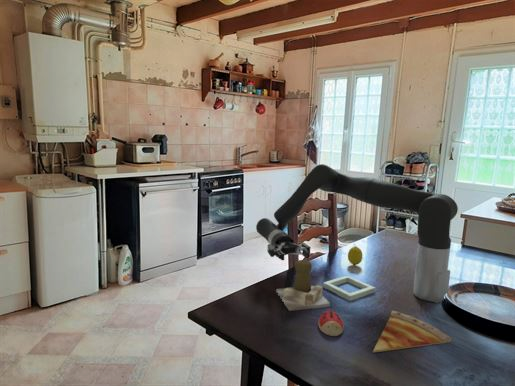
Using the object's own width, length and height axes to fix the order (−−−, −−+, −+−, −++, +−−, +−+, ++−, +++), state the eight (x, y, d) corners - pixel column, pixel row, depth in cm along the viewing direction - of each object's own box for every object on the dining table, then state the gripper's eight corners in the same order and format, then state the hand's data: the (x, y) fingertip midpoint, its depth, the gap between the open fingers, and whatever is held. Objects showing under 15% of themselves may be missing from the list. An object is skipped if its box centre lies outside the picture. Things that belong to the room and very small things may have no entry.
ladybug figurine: (320, 337, 93) (320, 324, 92) (316, 317, 103) (316, 306, 102) (346, 338, 93) (347, 325, 92) (340, 319, 102) (340, 307, 102)
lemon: (345, 266, 142) (347, 247, 140) (349, 262, 147) (350, 243, 145) (360, 269, 139) (361, 249, 138) (363, 264, 144) (364, 245, 143)
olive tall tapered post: (312, 298, 111) (314, 265, 109) (293, 298, 111) (294, 264, 110) (310, 290, 117) (311, 258, 115) (291, 289, 117) (293, 257, 116)
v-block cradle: (276, 291, 118) (276, 280, 117) (313, 288, 121) (313, 277, 121) (289, 310, 106) (289, 298, 105) (329, 306, 109) (330, 294, 108)
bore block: (374, 292, 119) (375, 287, 119) (350, 300, 113) (350, 296, 113) (347, 279, 129) (347, 275, 129) (322, 286, 123) (323, 282, 122)
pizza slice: (342, 321, 102) (343, 314, 101) (411, 313, 107) (412, 307, 106) (372, 354, 87) (373, 346, 86) (451, 343, 92) (452, 336, 91)
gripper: (262, 232, 131) (275, 246, 115) (299, 231, 134) (316, 244, 119) (261, 252, 132) (274, 269, 117) (298, 250, 136) (315, 266, 120)
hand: (295, 256), depth 118 cm, fingers open, 8 cm apart
